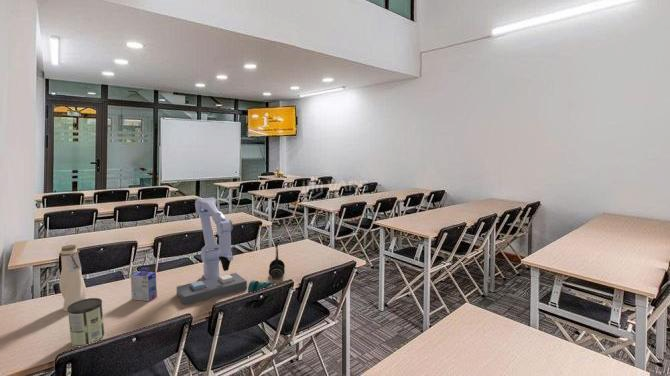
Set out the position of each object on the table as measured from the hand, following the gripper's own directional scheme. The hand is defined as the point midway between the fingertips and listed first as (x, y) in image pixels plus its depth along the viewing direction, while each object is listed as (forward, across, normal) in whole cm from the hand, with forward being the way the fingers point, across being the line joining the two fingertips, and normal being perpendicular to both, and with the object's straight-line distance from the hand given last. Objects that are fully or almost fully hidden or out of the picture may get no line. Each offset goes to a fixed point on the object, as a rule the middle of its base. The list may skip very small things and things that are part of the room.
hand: (225, 270), depth 172 cm
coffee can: (+10, +14, -58) cm, 60 cm away
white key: (+7, 0, 0) cm, 7 cm away
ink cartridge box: (+10, -12, -35) cm, 38 cm away
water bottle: (+10, -20, -61) cm, 65 cm away
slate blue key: (+7, 0, -14) cm, 15 cm away
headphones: (+10, +2, +28) cm, 30 cm away
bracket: (+10, +16, +13) cm, 23 cm away
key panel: (+9, 0, -7) cm, 12 cm away
